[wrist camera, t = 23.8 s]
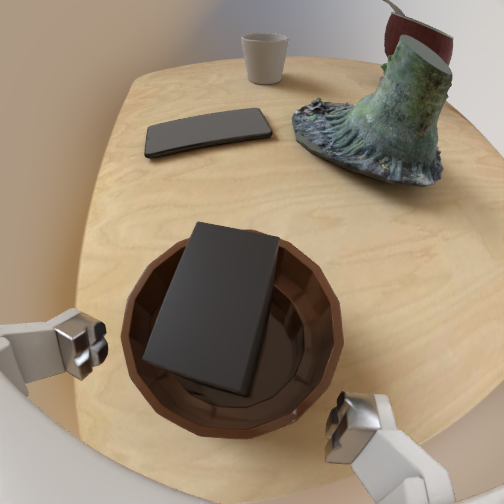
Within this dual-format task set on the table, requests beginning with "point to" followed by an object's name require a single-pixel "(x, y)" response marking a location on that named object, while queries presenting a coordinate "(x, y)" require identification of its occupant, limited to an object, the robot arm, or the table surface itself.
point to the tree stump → (385, 121)
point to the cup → (264, 56)
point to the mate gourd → (416, 35)
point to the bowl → (269, 362)
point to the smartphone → (205, 131)
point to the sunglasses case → (216, 308)
